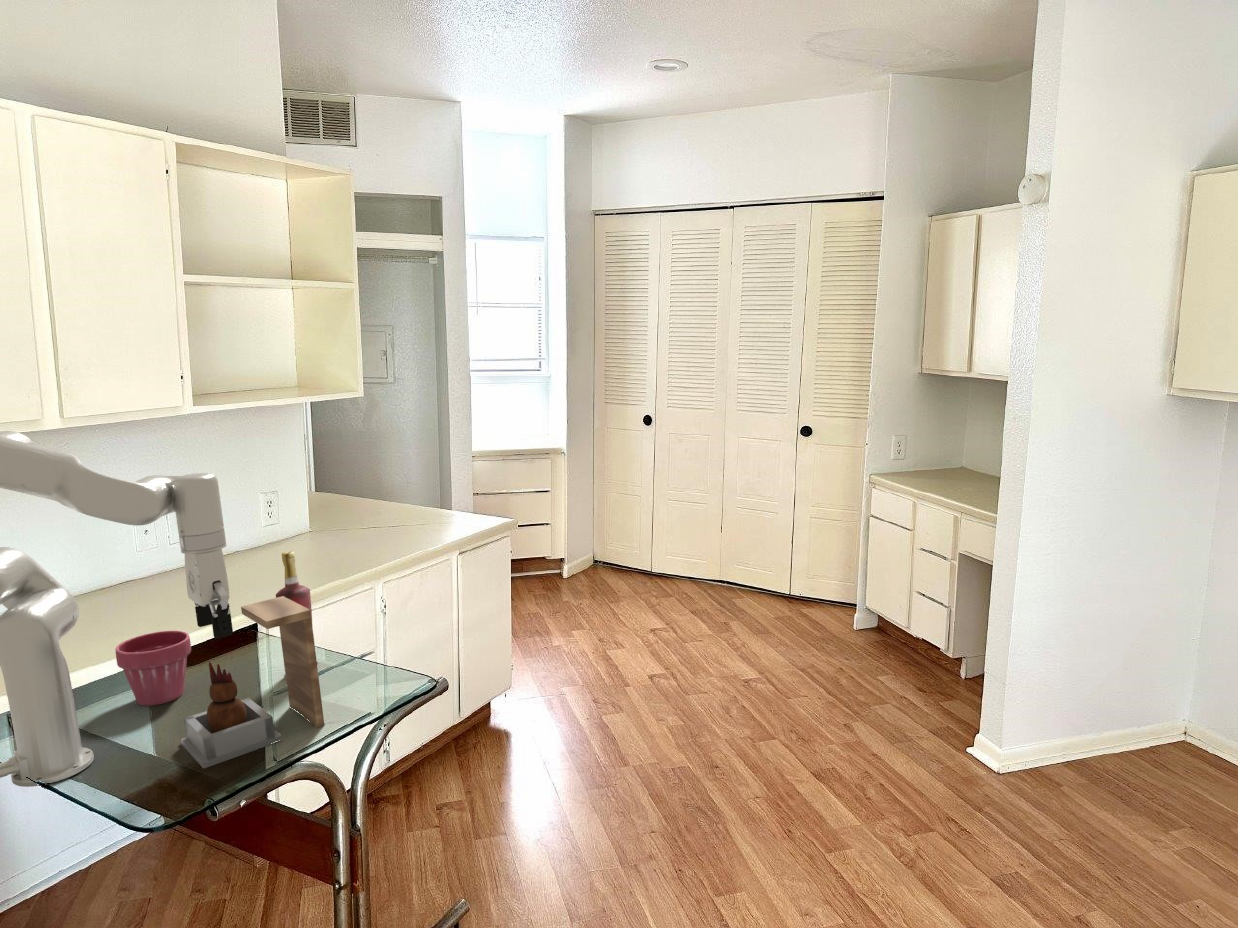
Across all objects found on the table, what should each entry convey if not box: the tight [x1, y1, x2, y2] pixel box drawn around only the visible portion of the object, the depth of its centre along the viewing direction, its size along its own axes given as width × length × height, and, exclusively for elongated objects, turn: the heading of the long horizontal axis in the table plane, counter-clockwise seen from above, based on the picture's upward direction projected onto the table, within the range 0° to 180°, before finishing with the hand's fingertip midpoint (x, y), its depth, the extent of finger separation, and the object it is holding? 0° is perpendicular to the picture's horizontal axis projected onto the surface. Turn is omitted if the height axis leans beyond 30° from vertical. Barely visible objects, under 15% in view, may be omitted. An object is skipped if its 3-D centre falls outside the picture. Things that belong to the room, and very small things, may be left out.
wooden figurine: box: [206, 661, 247, 734], centre depth 160 cm, size 7×6×15 cm
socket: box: [180, 697, 283, 769], centre depth 161 cm, size 14×14×5 cm
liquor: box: [275, 551, 319, 666], centre depth 193 cm, size 7×7×28 cm
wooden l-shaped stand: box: [240, 596, 325, 729], centre depth 167 cm, size 8×14×24 cm, turn 42°
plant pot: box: [115, 630, 192, 707], centre depth 185 cm, size 14×14×13 cm
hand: (215, 630), depth 158 cm, fingers open, 9 cm apart
